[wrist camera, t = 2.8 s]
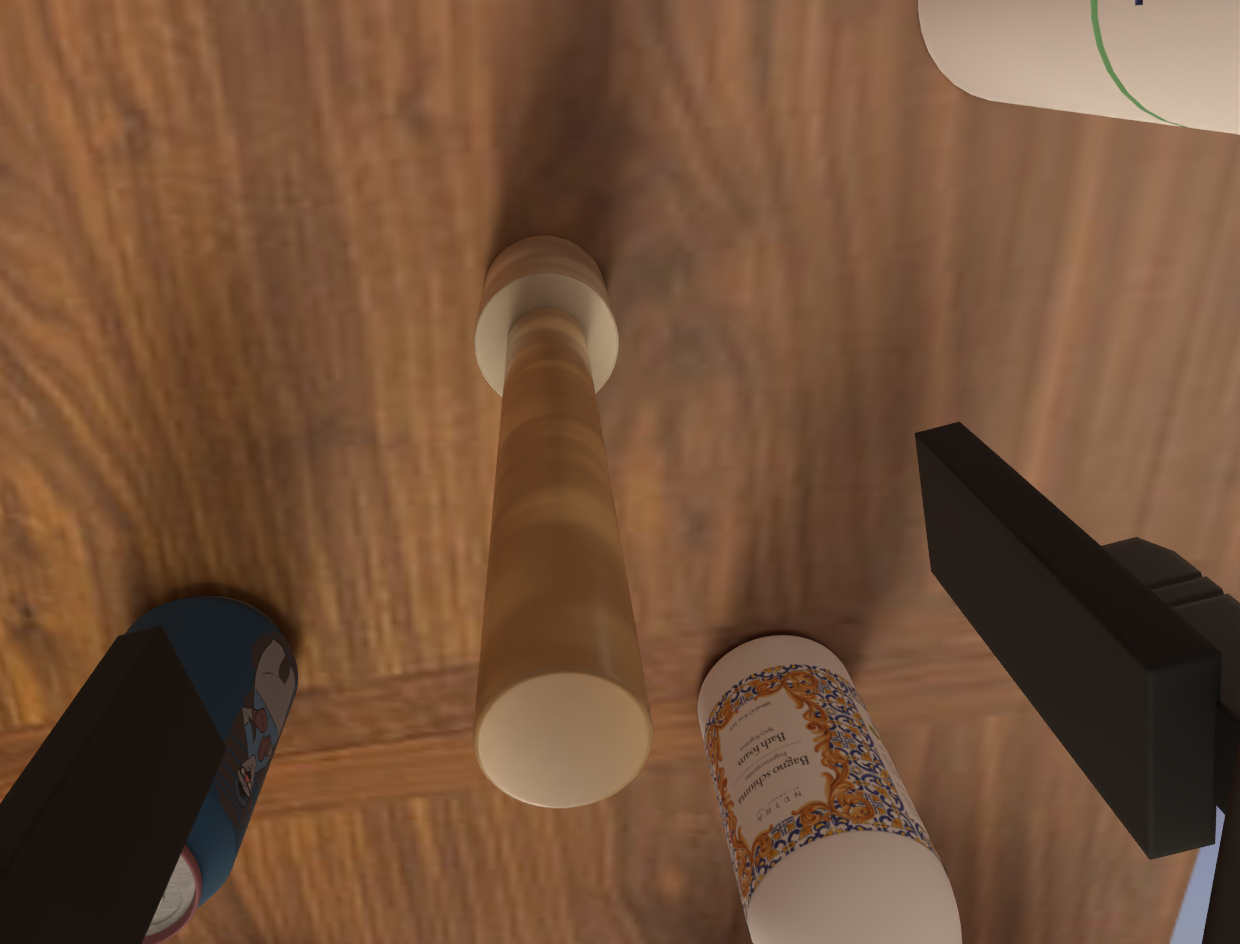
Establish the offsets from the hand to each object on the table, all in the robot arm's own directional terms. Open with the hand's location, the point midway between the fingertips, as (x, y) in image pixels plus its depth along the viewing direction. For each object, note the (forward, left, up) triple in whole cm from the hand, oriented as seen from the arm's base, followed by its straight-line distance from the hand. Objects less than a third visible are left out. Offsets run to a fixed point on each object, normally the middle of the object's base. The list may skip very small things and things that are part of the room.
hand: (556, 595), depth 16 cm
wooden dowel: (0, 0, -20) cm, 20 cm away
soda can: (+17, +11, -20) cm, 28 cm away
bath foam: (-5, +20, -20) cm, 29 cm away
